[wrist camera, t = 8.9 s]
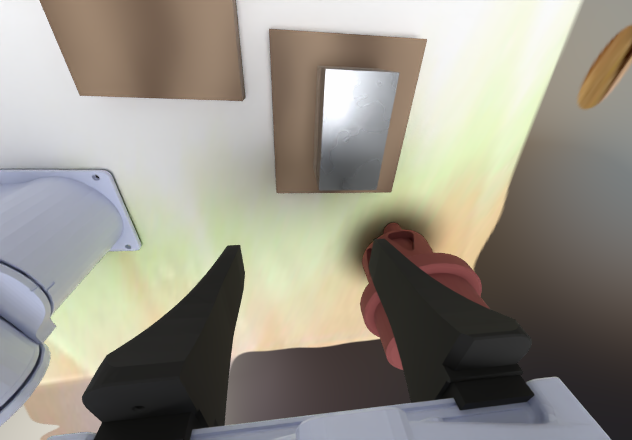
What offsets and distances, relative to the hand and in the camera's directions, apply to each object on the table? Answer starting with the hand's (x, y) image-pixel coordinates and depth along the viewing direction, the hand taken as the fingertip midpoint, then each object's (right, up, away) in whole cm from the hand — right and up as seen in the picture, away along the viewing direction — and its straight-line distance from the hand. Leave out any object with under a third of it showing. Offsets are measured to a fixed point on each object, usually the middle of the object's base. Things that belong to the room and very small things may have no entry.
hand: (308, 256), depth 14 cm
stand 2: (+2, +10, +6) cm, 12 cm away
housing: (+2, +9, +5) cm, 11 cm away
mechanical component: (+8, -1, +14) cm, 17 cm away
